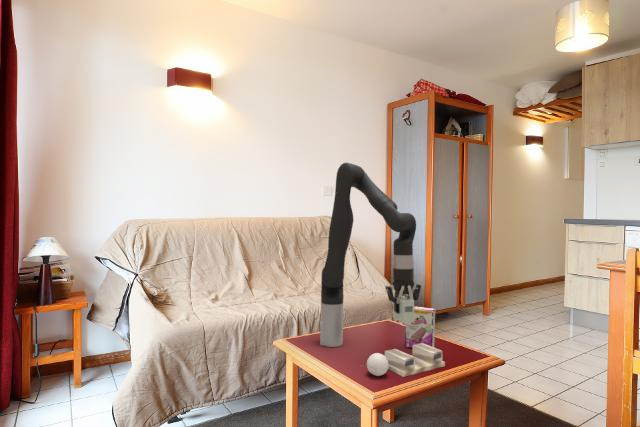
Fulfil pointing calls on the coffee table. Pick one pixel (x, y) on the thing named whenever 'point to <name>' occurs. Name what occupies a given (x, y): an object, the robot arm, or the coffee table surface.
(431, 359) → the rail board
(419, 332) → the candy bar box
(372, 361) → the seamed sphere
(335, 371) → the coffee table surface
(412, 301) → the block
